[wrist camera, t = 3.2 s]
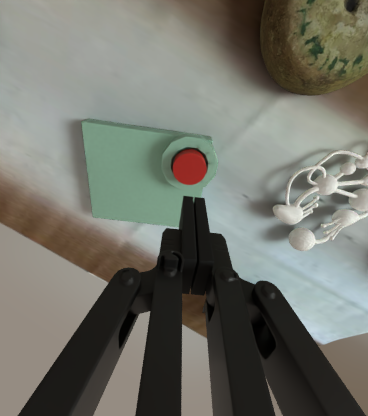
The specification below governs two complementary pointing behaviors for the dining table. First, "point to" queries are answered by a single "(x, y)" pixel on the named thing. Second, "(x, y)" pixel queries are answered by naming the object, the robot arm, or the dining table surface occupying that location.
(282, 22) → the weight
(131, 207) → the green button base
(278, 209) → the tangled rod sculpture
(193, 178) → the red push button
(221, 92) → the dining table surface
